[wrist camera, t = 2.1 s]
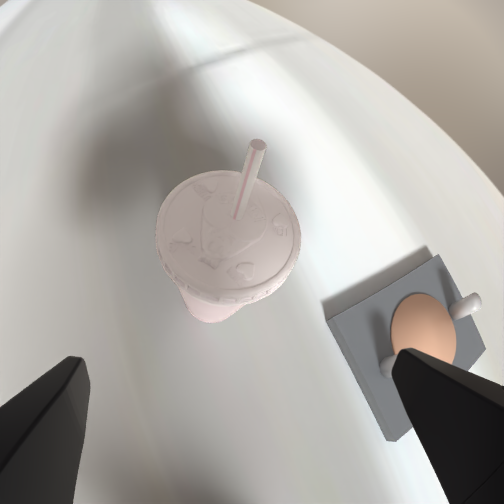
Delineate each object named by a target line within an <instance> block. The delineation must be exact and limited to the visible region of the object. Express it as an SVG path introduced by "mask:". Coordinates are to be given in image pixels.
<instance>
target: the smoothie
mask: <svg viewBox="0 0 504 504" xmlns="http://www.w3.org/2000/svg"><path fill="white" fill-rule="evenodd" d="M266 148H267V145H266V143H265V142H264V141H262V140H260V139H254V140H252V141H251V142H250V145H249V148H248V152H247V155H246V159H245V162H244V166H243V169H242V172H237V171H229V170H217V171H209V172H204V173H201V174H198V175H195V176H192V177H190V178H188V179H186V180H185V181H183V182H182V183H180V184H179V185H178V186H176V187H175V188H174V189H173V190H172V191H171V192H170V193H169V194H168V196H167V197H166V198H165V200H164V202H163V203H162V205H161V208H160V210H159V213H158V216H157V222H156V235H155V236H156V248H157V254H158V256H159V259H160V261H161V264H162V266H163V268H164V270H165V271H166V273H167V274H168V275H169V277H170V278H171V279H172V280H173V282H174V283H175V284H176V285H177V286H178V287H179V290H180V292H181V295H182V297H183V299H184V302H185V304H186V306H187V308H188V310H189V312H190V313H191V314H192V315H193V316H194V317H195V318H197V319H198V320H200V321H203V322H207V323H217V322H221V321H223V320H225V319H227V318H228V317H229V316H231V315H232V314H233V313H235V312H236V311H237V310H239V309H240V308H241V307H243V306H244V305H245V304H249V303H253V302H255V301H258V300H260V299H262V298H264V297H267V296H269V295H270V294H271V293H273V292H274V291H275V290H276V289H277V288H278V287H280V286H281V285H282V284H283V283H284V281H285V280H286V278H287V276H288V275H289V273H290V272H291V270H292V268H293V267H294V265H295V263H296V261H297V258H298V255H299V251H300V246H301V232H300V226H299V223H298V219H297V217H296V215H295V212H294V211H293V209H292V207H291V206H290V204H289V203H288V201H287V200H286V199H285V198H284V197H283V195H282V194H281V193H280V192H278V191H277V190H276V189H275V188H274V187H272V186H271V185H270V184H268V183H266V182H265V181H263V180H261V179H259V178H257V174H258V171H259V168H260V165H261V162H262V159H263V156H264V153H265V151H266Z"/></svg>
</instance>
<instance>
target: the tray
mask: <svg viewBox="0 0 504 504" xmlns="http://www.w3.org/2000/svg"><path fill="white" fill-rule="evenodd" d="M481 306H482V302H481V298H480V296H479V295H478V294H477V293H472V294H470V295H468V296H467V297H465V298H462V296H461V294H460V292H459V290H458V288H457V286H456V284H455V283H454V281H453V279H452V277H451V275H450V273H449V271H448V270H447V268H446V266H445V264H444V263H443V261H442V259H441V257H440V256H439V254H438V255H436V256H435V257H433V258H432V259H430V260H429V261H427V262H425V263H424V264H422V265H421V266H419V267H418V268H416V269H415V270H413V271H411V272H410V273H408V274H407V275H405V276H403V277H402V278H400V279H398V280H397V281H395V282H394V283H392V284H390V285H389V286H387V287H385V288H384V289H382V290H380V291H378V292H377V293H375V294H373V295H372V296H370V297H368V298H366V299H365V300H363V301H361V302H359V303H358V304H356V305H354V306H352V307H351V308H349V309H347V310H345V311H343V312H342V313H340V314H338V315H336V316H334V317H332V318H331V319H329V320H328V321H326V322H327V324H328V326H329V328H330V330H331V332H332V334H333V335H334V337H335V339H336V341H337V343H338V345H339V347H340V349H341V351H342V353H343V355H344V357H345V359H346V360H347V362H348V364H349V366H350V368H351V370H352V372H353V374H354V376H355V378H356V380H357V382H358V384H359V386H360V388H361V390H362V392H363V394H364V396H365V398H366V400H367V402H368V404H369V406H370V408H371V410H372V412H373V414H374V416H375V418H376V420H377V422H378V424H379V426H380V428H381V430H382V432H383V434H384V436H385V438H386V441H393V442H396V441H397V440H398V439H400V438H401V437H402V436H403V435H404V434H405V433H407V432H408V431H409V430H410V429H411V428H412V427H413V426H412V424H411V422H410V420H409V418H408V416H407V414H406V411H405V409H404V406H403V404H402V401H401V399H400V396H399V394H398V391H397V389H396V386H395V384H394V381H393V379H392V376H391V370H392V367H393V365H394V362H395V360H396V357H397V355H398V353H399V351H400V350H401V349H404V348H415V349H417V350H419V351H421V352H424V353H426V354H428V355H431V356H433V357H435V358H438V359H440V360H442V361H445V362H447V363H449V364H452V365H454V366H456V367H459V368H461V369H464V370H466V371H468V370H469V369H470V368H471V367H472V365H473V364H474V363H475V362H476V361H477V359H478V358H479V357H480V356H481V355H482V353H483V352H484V351H485V350H486V348H485V345H484V343H483V341H482V338H481V336H480V334H479V332H478V329H477V327H476V325H475V323H474V321H473V318H472V316H471V314H472V313H474V312H476V311H478V310H480V309H481Z"/></svg>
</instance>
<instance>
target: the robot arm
mask: <svg viewBox="0 0 504 504" xmlns="http://www.w3.org/2000/svg"><path fill="white" fill-rule="evenodd" d="M391 376H392V379H393V381H394V384H395V386H396V389H397V391H398V394H399V396H400V399H401V401H402V404H403V406H404V409H405V411H406V414H407V416H408V418H409V420H410V422H411V424H412V426H413V428H414V430H415V432H416V434H417V436H418V438H419V440H420V442H421V444H422V446H423V448H424V450H425V452H426V454H427V456H428V458H429V460H430V462H431V465H432V467H433V469H434V471H435V473H436V475H437V477H438V479H439V482H440V484H441V486H442V488H443V490H444V493H445V495H446V497H447V499H448V502H449V504H504V386H501V385H500V384H497V383H495V382H492V381H490V380H487V379H485V378H483V377H480V376H478V375H475V374H473V373H471V372H468V371H466V370H464V369H461V368H459V367H456V366H454V365H452V364H449V363H447V362H445V361H442V360H440V359H438V358H435V357H433V356H431V355H428V354H426V353H424V352H421V351H419V350H417V349H415V348H404V349H401V350H400V351H399V353H398V355H397V357H396V360H395V362H394V365H393V367H392V370H391ZM89 395H90V380H89V376H88V372H87V368H86V363H85V361H84V359H83V358H82V357H75V356H68V357H67V358H65V359H64V360H63V361H61V362H60V363H58V364H57V365H56V366H54V367H53V368H52V369H50V370H49V371H48V372H46V373H45V374H44V375H42V376H41V377H40V378H38V379H37V380H36V381H34V382H33V383H32V384H30V385H29V386H28V387H26V388H25V389H24V390H22V391H21V392H20V393H18V394H17V395H16V396H14V397H13V398H12V399H10V400H9V401H8V402H6V403H5V404H4V405H2V406H1V407H0V504H73V499H74V492H75V486H76V480H77V474H78V469H79V463H80V458H81V453H82V448H83V444H84V438H85V430H86V420H87V411H88V403H89Z"/></svg>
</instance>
